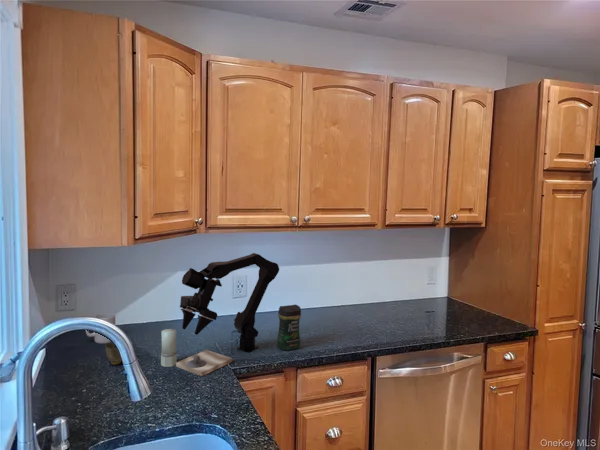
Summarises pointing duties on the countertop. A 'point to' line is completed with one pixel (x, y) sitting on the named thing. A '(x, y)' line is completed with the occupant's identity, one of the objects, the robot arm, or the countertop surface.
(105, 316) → the mug
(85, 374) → the countertop surface
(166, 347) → the light bulb
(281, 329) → the coffee jar
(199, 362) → the mounting board
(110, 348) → the cup
